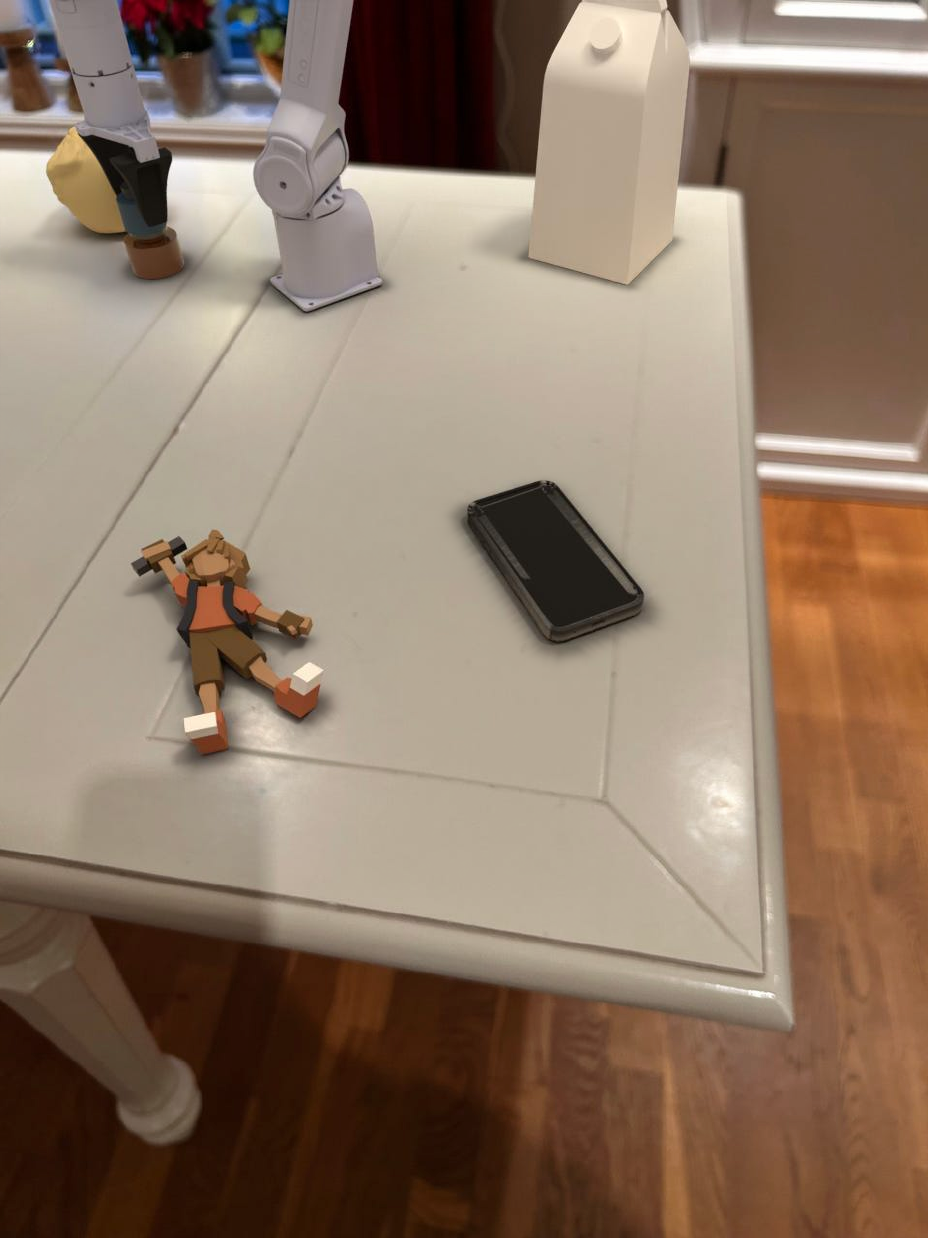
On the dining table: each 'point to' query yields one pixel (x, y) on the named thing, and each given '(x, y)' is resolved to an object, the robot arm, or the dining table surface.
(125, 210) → the slate bottle
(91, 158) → the sculpture
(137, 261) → the brown cup
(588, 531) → the phone
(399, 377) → the dining table surface
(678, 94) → the milk
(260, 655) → the character figurine
